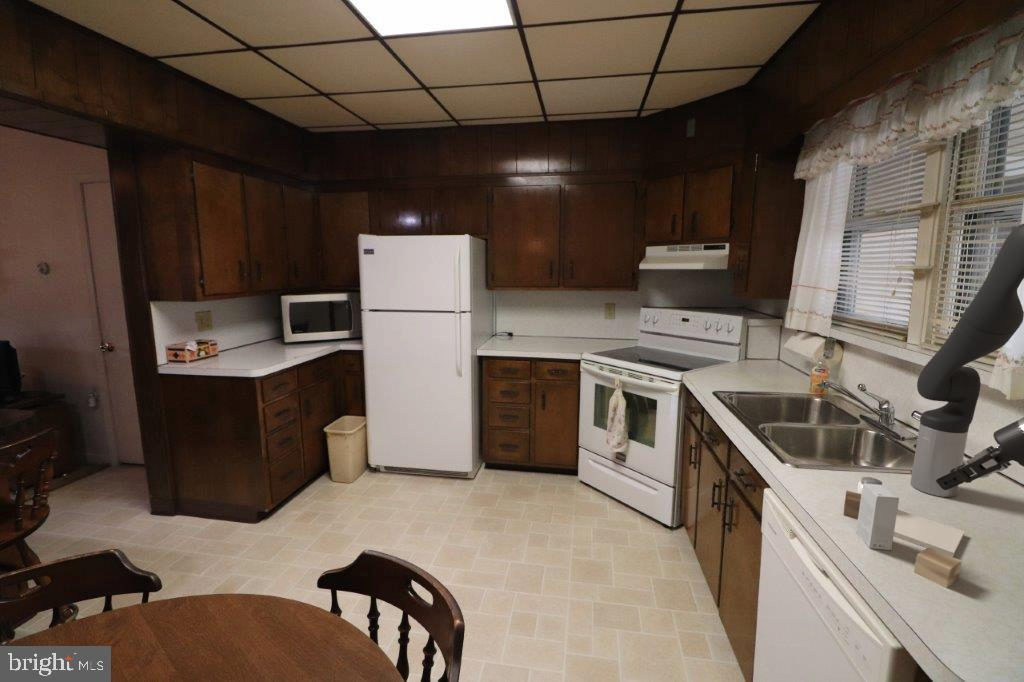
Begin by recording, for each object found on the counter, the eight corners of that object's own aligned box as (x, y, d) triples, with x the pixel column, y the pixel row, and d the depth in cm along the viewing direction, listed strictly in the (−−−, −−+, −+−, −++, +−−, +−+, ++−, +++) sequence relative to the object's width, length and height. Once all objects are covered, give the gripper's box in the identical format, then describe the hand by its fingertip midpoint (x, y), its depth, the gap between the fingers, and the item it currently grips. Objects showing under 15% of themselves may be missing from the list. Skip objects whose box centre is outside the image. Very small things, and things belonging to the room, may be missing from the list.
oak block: (925, 564, 95) (928, 546, 94) (957, 579, 91) (961, 561, 90) (913, 573, 93) (916, 554, 92) (946, 588, 88) (949, 569, 87)
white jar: (859, 500, 120) (862, 474, 118) (883, 508, 116) (887, 481, 115) (852, 506, 117) (856, 480, 115) (877, 515, 113) (881, 487, 111)
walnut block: (844, 507, 116) (846, 490, 115) (866, 513, 114) (869, 495, 113) (843, 515, 113) (845, 498, 112) (866, 521, 110) (869, 503, 109)
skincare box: (892, 551, 99) (900, 498, 97) (869, 548, 100) (876, 496, 98) (876, 534, 105) (884, 484, 103) (854, 532, 106) (861, 482, 104)
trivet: (895, 512, 114) (896, 509, 113) (963, 535, 104) (964, 531, 104) (881, 531, 106) (881, 527, 106) (953, 557, 97) (953, 552, 97)
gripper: (1029, 413, 87) (942, 456, 98) (1010, 425, 79) (918, 470, 90) (1069, 449, 84) (974, 490, 94) (1054, 465, 76) (952, 507, 86)
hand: (947, 480), depth 92 cm, fingers open, 8 cm apart
